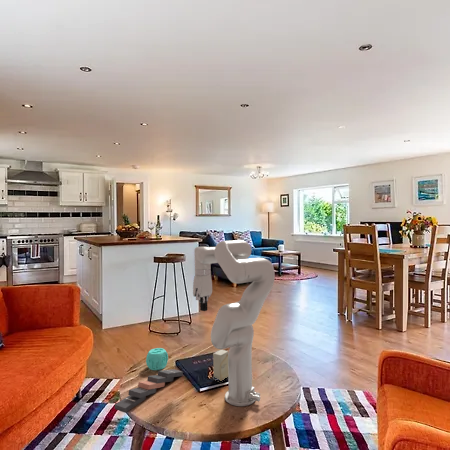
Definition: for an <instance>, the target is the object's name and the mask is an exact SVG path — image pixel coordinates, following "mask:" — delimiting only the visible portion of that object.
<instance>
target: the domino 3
mask: <svg viewBox="0 0 450 450" xmlns="http://www.w3.org/2000/svg"><path fill="white" fill-rule="evenodd" d="M165 385H166V382H164V383H154V382H151V381H147V380H143V381H138V384H137V388H138V387H141V388H144V389H148V390H149V389H155V388H156V389H160V388H164V387H165Z"/></svg>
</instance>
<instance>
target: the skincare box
mask: <svg viewBox="0 0 450 450" xmlns="http://www.w3.org/2000/svg"><path fill="white" fill-rule="evenodd" d="M228 353H229V350H226V349H218V350H217V351H216V352H213V354H212V358H213V359H212V360H213V362H212V363H213V365H212V366H213V368H212V369H213V378H214V377H215V378H217V379H219V380H220V381H222V380H224V379H225V378H227V377H228ZM227 379H228V378H227ZM224 381H225V380H224ZM222 382H223V381H222Z"/></svg>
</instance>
